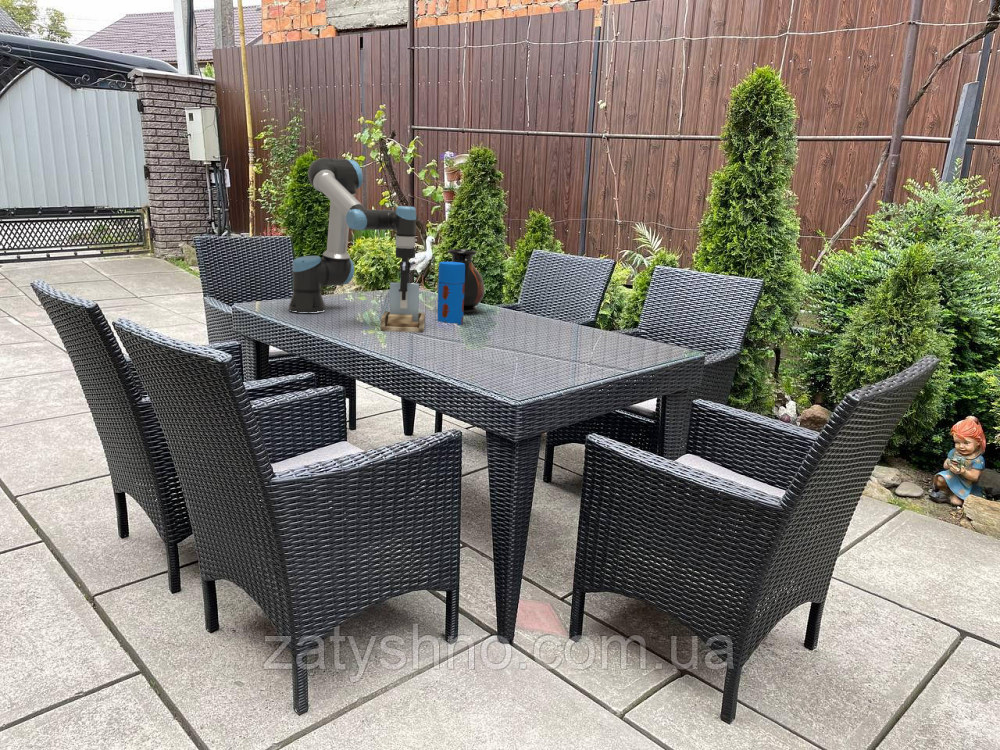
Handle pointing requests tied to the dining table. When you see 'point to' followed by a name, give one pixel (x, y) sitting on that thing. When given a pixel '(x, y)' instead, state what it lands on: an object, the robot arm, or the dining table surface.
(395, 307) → the pale blue block
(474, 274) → the amphora vase
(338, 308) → the dining table surface
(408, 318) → the offcut
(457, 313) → the thermos
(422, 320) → the box
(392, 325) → the offcut
